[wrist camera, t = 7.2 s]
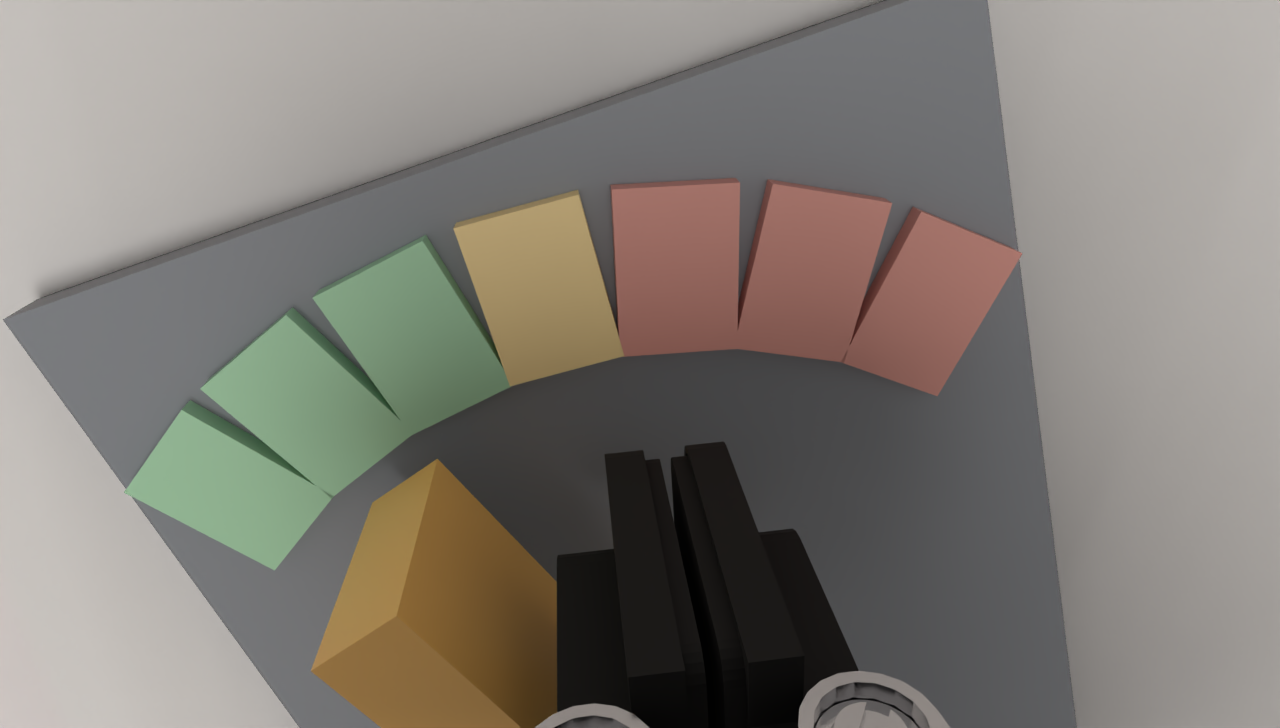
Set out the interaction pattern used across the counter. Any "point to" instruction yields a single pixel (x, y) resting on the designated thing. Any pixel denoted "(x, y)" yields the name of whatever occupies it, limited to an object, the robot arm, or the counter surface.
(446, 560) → the dial knob with pointer
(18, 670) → the counter surface
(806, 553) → the robot arm
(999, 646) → the dial board
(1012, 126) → the counter surface
